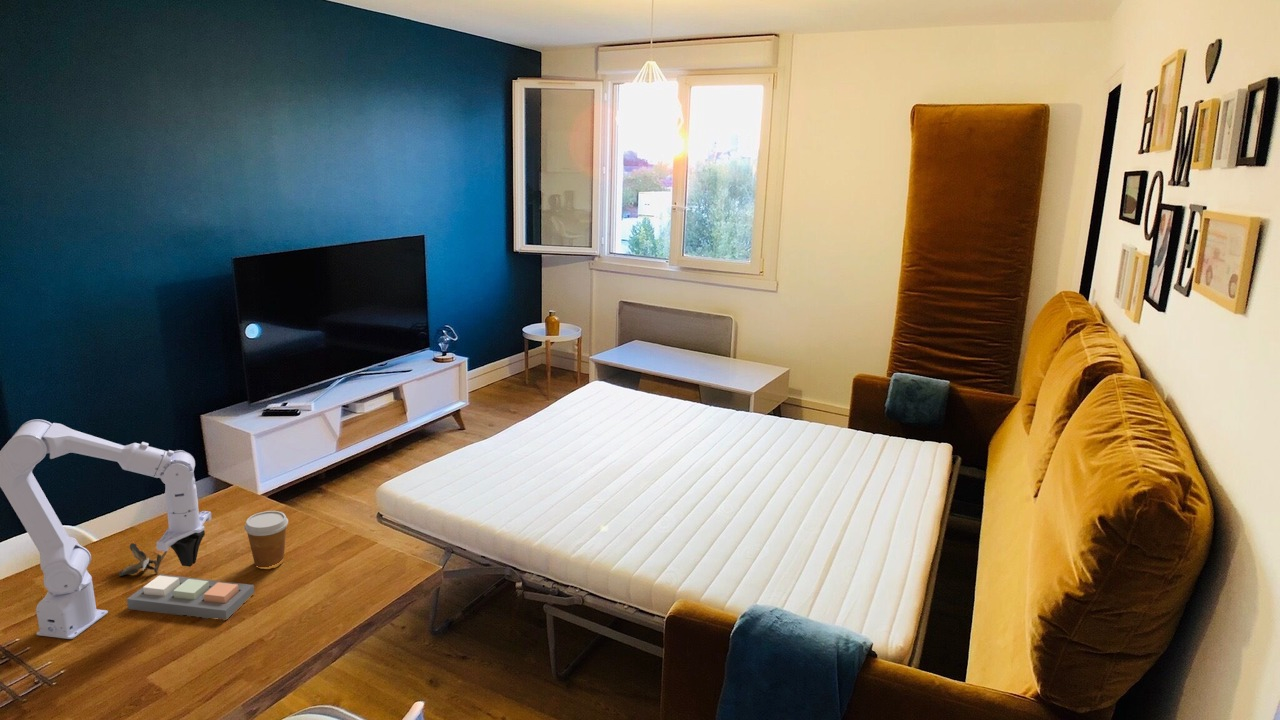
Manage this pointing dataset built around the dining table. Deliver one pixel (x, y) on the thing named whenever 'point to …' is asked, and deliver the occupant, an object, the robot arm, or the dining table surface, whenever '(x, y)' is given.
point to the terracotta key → (221, 593)
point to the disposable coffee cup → (267, 537)
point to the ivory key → (161, 586)
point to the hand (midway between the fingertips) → (188, 564)
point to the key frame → (190, 602)
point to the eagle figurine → (141, 562)
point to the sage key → (191, 589)
